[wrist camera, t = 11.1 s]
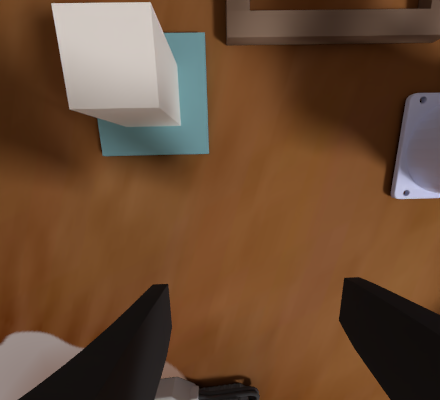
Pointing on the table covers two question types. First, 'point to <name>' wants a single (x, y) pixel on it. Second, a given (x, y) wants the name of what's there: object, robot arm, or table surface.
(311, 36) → the brown square frame
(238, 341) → the table surface
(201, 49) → the mat
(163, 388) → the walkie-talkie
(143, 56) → the cream block
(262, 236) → the table surface
